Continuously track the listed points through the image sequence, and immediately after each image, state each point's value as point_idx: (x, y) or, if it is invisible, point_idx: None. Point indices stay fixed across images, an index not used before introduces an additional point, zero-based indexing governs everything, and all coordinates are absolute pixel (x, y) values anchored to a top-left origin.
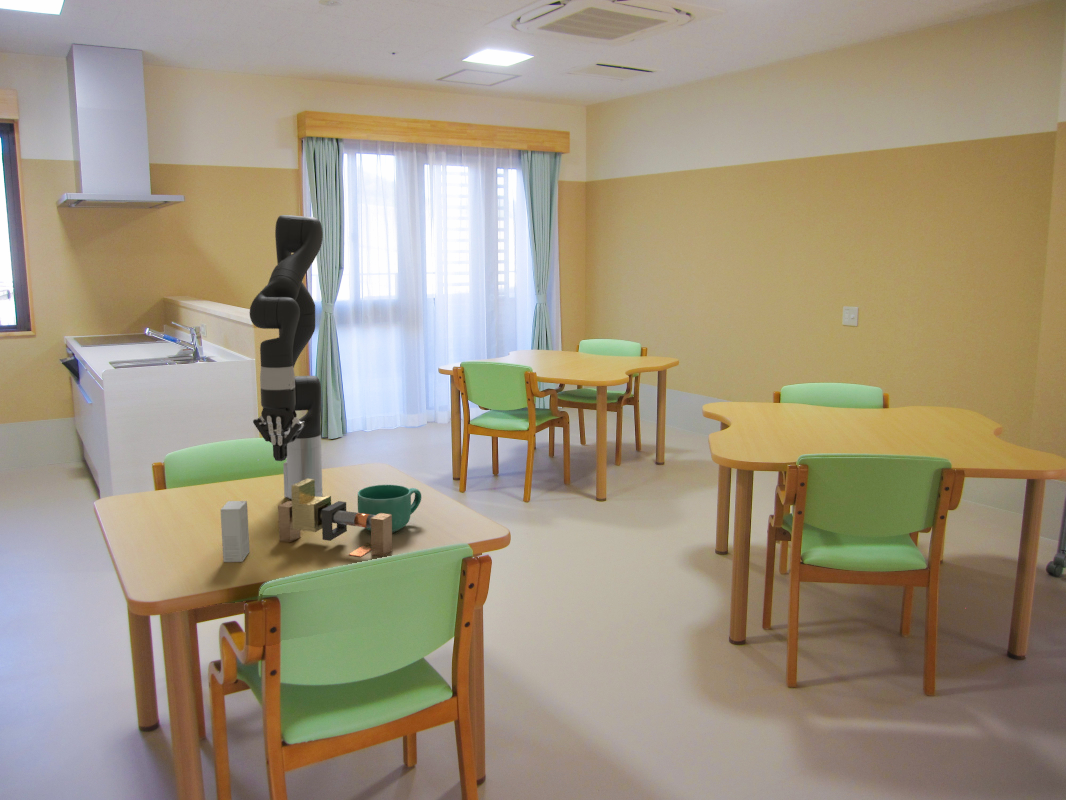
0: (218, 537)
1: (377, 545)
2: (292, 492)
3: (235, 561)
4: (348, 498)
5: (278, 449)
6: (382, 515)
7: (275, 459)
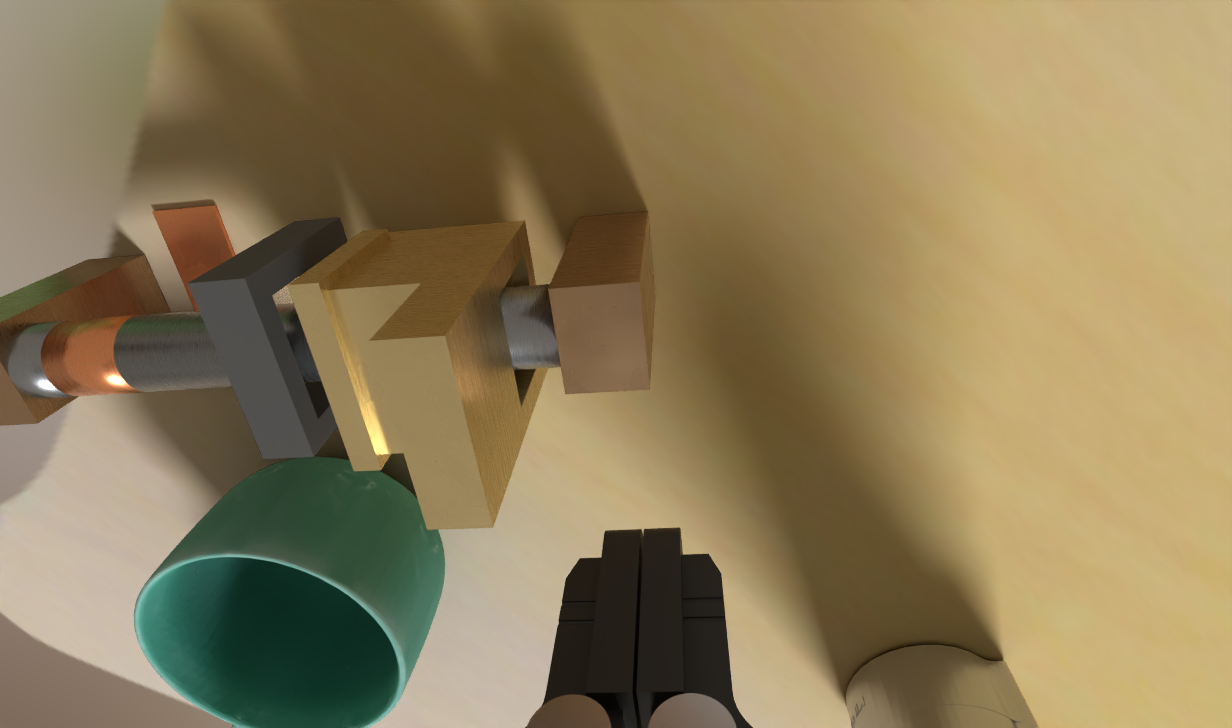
0: (1013, 99)
1: (76, 275)
2: (455, 311)
3: None
4: None
5: (615, 642)
6: None
7: (673, 532)
